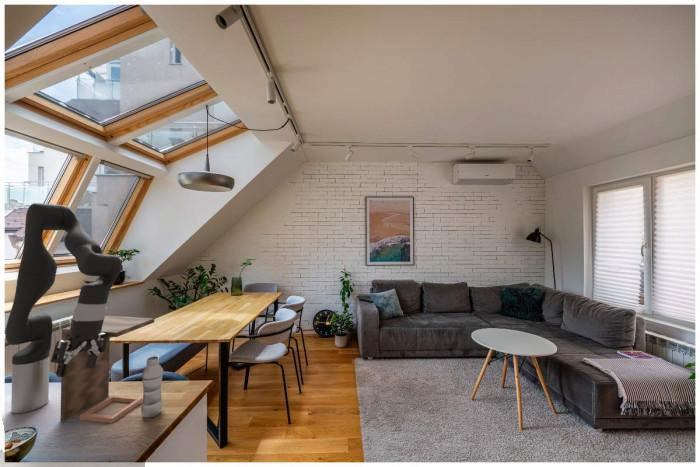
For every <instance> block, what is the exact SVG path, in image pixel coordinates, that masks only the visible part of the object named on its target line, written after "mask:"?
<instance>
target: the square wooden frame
mask: <svg viewBox="0 0 700 467" xmlns="http://www.w3.org/2000/svg"><path fill="white" fill-rule="evenodd" d="M118 401H119V402H118ZM112 402H118V403H128V402H129V404H128V405H127V406H125V407H124V408H122V409H121V410H119V411H118V412H116V413H115V414H113V415H107V414H106V415H105V414H97V413H96V412H97V410H98V411H99V410H101V409H103V408H104V407H106V406H107V405H109V404H111V403H112ZM142 402H143V397H138V396H137V397H135V396H125V395H115V394H112V395H111V396H108V397H106V398H105V399H103V401H102V400H101V402H99V403H97V404H95V405H93V407H91V408H89V409H87V410H85V411H83V413H81V414H80V415H79V420H82V421H91V422H101V423H107V422H108V423H110V424H113V423H115V422H116V421H118V420H119V419H121V416H122V417H123V416H124V415H126V414H127V413H128V411H129V412H130V411H131V410H133V409H134V408H136V407H138V404H139V405H140V404H142ZM94 412H95V413H94ZM92 413H93V414H92Z"/></svg>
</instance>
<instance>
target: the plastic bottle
mask: <svg viewBox="0 0 700 467" xmlns="http://www.w3.org/2000/svg"><path fill="white" fill-rule="evenodd" d="M159 363H160V357H159V356H158V355H157V356H156V355H154V356H150V357H148V358H147V359H146V368H145V369H144V370H143V372H142V374H141V379H142V380H141V382H142V390H143V392H142V393H143V394H142V395H143V396H142V402H141V407H140V413H141V416H142V417H143V418H153V417H155V416H158V415H159V414H160V412H161V411H162V409H163V398H162V397H163V396H162V381H163V375H164V368H163V367H162V366H161V365H160V364H159Z"/></svg>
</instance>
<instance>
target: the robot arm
mask: <svg viewBox="0 0 700 467" xmlns="http://www.w3.org/2000/svg"><path fill="white" fill-rule="evenodd" d="M44 231H64V232H66V234H65V238H64V240H63V242H64V247H65V249H66V250H67V251H68V252H69V253H70V254H71V255H72V256H73V257H74V259H75V262H76V265H77V267H78V271H79V272H80V273H82V274H83V275H85V276H88V277H98V278H97V279H96V280H95V281H93V282H90V283H89V282H88V283H85V284H84V285H82V286H81V288H80V291H79V296H78V299H77V302H76V306H75V308H74V311H73V314H72V318H71V324H70V326H69V327H70V331H69V333H70V338H69V340H67V341H62V340H57V341H56V343H55V346H54V349H53V353H52V355H51V359H50V351H51V349H52V340H53V339H52V338H53V331H54V330H53V327H54V326H53V320H52V317H51V316H50V315H49V314H48V313H45V312H44V313H43V312H42V313H38V314H37V313H36V314H32V315H30V314H31V312H32V310H33V307H35V305H36V303H38V301H39V300H40V299H42V297H44V295H45V294H47V293H48V291H50V289H51V288H52V286H53V285H54V283H55V280H56V274H57V270H58V265H57V262H56V260H55V258H54V257H53V255H52V254H51V253H50V252H49V251H48V249H47V247H46V246H45V243H44V241H43V240H44V239H43V238H44V237H43V233H44ZM20 259H21V260H20V264H19V268H18V274H17V278H16V279H17V280H16V288H15V292H14V299H13V302H12V306H11V310H10V313H9V316H8V320H7V323H6V326H5V331H4V332H5V335H4V336H5V340H6V343H7V344H8V345H12V346H17V345H23V344H26V343H29V344H27V345H26V346H25V347H24V348H22V349H21V350H19V351H17V352H15V353H13V355H12V357H11V399H10V400H11V403H10V404H11V407H10V408H11V409H10V410H11V413H12V414H24V413H29V412H32V411H35V410H37V409H39V408H42V407H44V406H45V405H47V404H48V403H49V401H50V399H49V394H50V393H49V392H50V391H49V390H50V363H52V364H54V363H55V364H57V368H56V372H55V376H56V377H58V378H61V377H65V376H66V373H67V368H68V362H69V361H70V360H71V359H72V357H74V356H76V355H77V353H81V352H83V351H88V352H89V354H90V355H89V356H88V360H87V365H86V367H87V368H94V366H95V364H96V360H97V356H98V355H99V353H101V352H104V351H105V348H106V342H107V337H108V334H106V333H100V332H101V330H102V326H103V321H104V317H105V316H106V312H107V302H108V298H109V294H110V291H111V289H112V288H113V286H114V284H115V282H116V280H117V278H118V276H119V275H120V272H121V271H122V267H123V262H122V260H121V258H120V257H119V256H117V255H115V254H114V255H113V254H106V253H103V250H102V247H101V246H100V245H99V243H97V242H96V241H95V240H94V239H93V238H92V237H91V236H90V235H89V234H88V233H87V231H86V230H85V228H84V227H83V224H82V223H81V221H80V220H79V218H78V217H77V215H76V213H75V212H74V211H73V210H72V209H71V207H69V206H68V205H62V204H53V203H44V202H43V203H41V202H34V203H31V204H30V205H29V207H28V208H27V211H26V213H25V225H24V238H23V249H22V254H21V258H20ZM96 341H97V343H95V342H96ZM100 346H101V348H100ZM70 350H71V351H72V352H69V351H70ZM66 357H67V358H66ZM65 358H66V359H65Z"/></svg>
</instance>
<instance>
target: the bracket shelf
mask: <svg viewBox="0 0 700 467" xmlns="http://www.w3.org/2000/svg"><path fill="white" fill-rule="evenodd" d="M153 323H155V318H151V317H136V316H135V317H134V316H120V315H105V317H104V321H103V326H102V330H101V332H100V333H106V334H108V337H107V342H106V348H105V351H104V352H101V353H99V355H98V356H97V360H96V364H95V366H94V368H87V367H86V365H87V360H88V356H89V355H90V354H89V352H88V351H83V352H81V353H77V355H76V356H74V357H72V359H71V360H70V361H69V362H68V368H67V373H66V376H65V377H60V422H63V423H64V422H66V421H68V420H70V419H71V418H73V417H75V416H76V415H78V414H80V413H81V412H84V411H86V409H87V410H88V408H90V407H91V405H92V406H94V405H95V404H96V402H97V403H98V402H100V401H102V400H104V399H106V398H108V397H110V396H109V395H110V394H109V391H110V390H109V386H110V384H109V383H110V344H111V343H110V341H111V340H110V338H119V337H121V336H123V335H125V334H129V333H131V332H133V331H136V330H138V329H142V328H143V327H146V326H149V325H151V324H153ZM69 331H70V326H67V327H65V328H64V327H63V328H62V329H61V341H67V340H69V338H70V333H69ZM95 343H97V341H96V342H95ZM100 348H101V346H100ZM69 352H72V351H71V350H70V351H69ZM66 358H67V357H66ZM66 358H65V359H66ZM94 403H95V404H94Z"/></svg>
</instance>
